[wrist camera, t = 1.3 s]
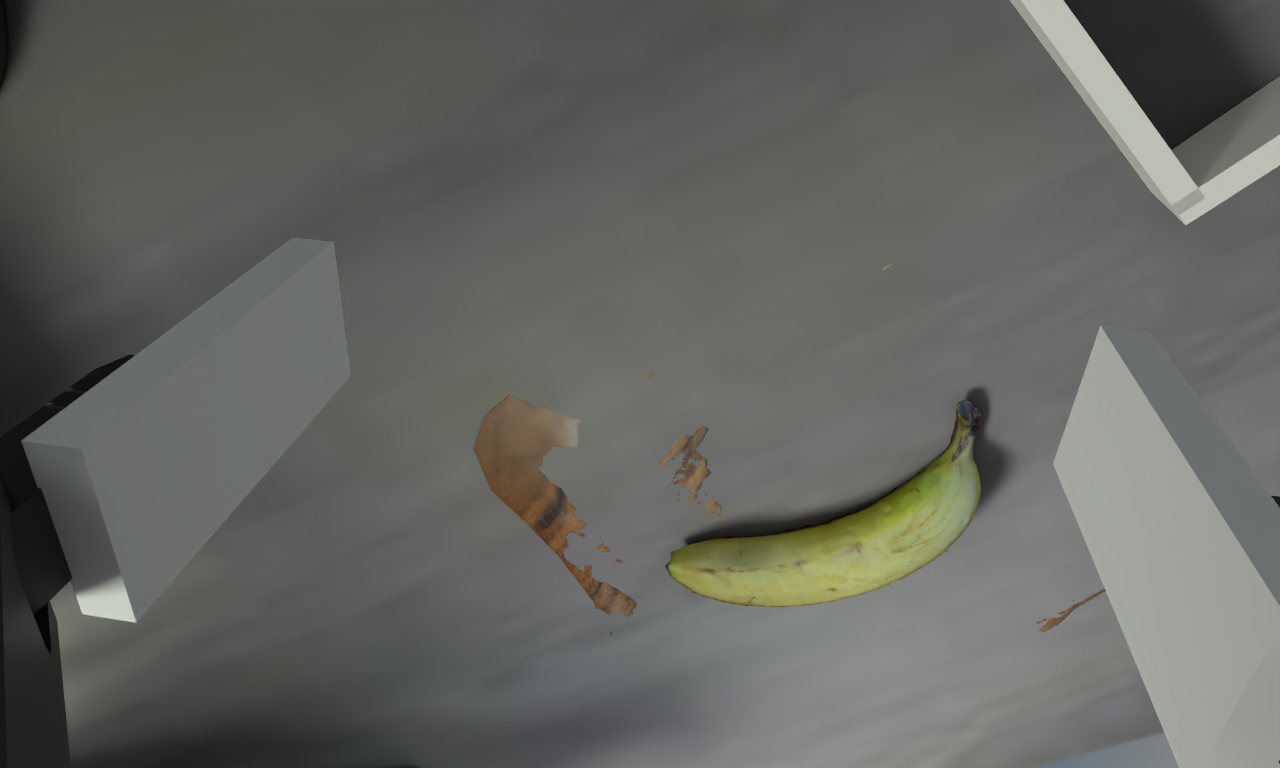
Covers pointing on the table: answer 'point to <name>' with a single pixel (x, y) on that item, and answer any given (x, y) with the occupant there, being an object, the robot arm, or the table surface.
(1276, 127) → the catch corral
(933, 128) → the table surface
